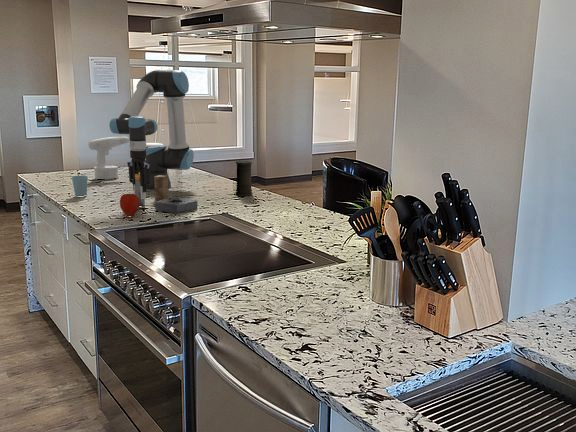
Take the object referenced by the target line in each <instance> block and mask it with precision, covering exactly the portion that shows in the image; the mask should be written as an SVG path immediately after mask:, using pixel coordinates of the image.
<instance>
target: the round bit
mask: <svg viewBox="0 0 576 432" xmlns="http://www.w3.org/2000/svg"><path fill="white" fill-rule="evenodd" d="M141 185H142V184H141V179H140V173H136V174H135V188H136V195H137V197H138V198H139V206H145V207H146V204H145V200H146V199H141V189H140V186H141Z"/></svg>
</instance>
